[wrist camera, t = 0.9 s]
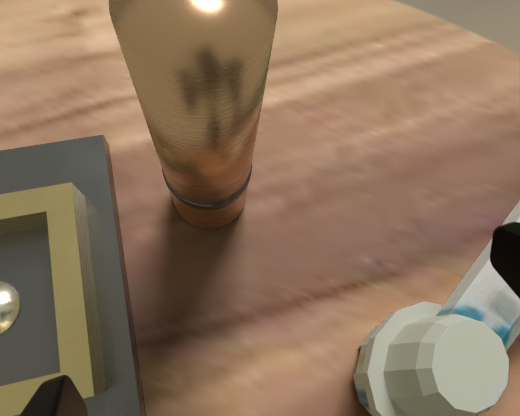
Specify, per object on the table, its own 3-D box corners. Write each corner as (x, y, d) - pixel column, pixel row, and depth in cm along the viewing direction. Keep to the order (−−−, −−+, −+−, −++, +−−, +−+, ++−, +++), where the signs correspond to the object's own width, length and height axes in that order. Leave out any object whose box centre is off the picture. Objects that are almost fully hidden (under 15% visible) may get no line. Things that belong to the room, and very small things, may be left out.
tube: (253, 222, 23) (297, 62, 10) (178, 236, 23) (119, 87, 9) (238, 154, 24) (258, -71, 11) (166, 167, 24) (97, -56, 10)
